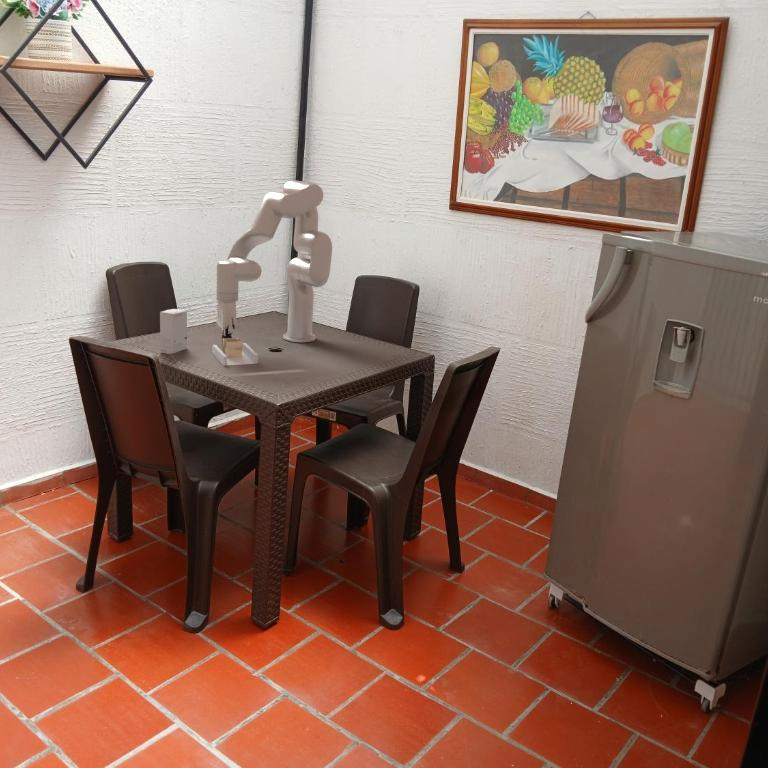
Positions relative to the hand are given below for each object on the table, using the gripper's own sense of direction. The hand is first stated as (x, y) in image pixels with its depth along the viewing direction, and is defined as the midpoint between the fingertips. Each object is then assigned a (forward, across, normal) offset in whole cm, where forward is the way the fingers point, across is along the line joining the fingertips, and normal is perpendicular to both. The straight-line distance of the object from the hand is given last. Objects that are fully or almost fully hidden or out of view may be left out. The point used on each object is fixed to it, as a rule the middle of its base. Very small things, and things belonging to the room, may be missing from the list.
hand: (226, 346), depth 289 cm
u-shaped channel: (+2, +11, 0) cm, 11 cm away
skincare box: (+2, -4, -18) cm, 19 cm away
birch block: (+1, +7, 0) cm, 7 cm away
